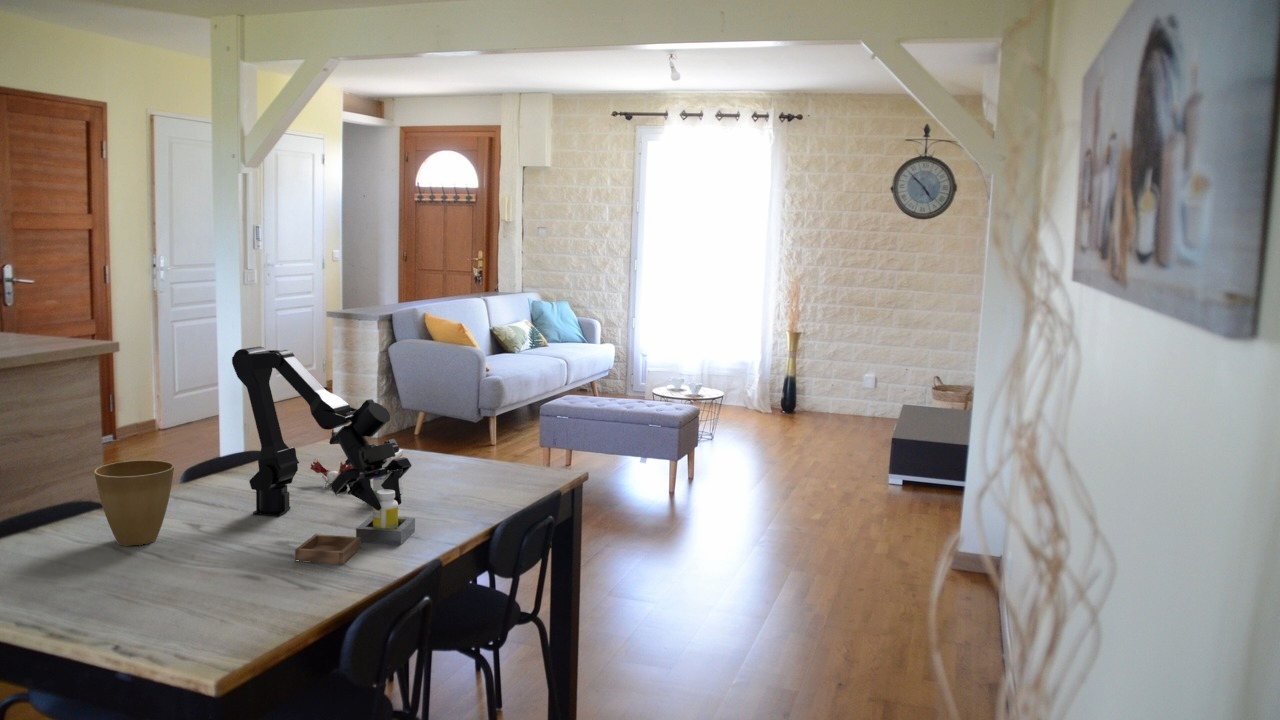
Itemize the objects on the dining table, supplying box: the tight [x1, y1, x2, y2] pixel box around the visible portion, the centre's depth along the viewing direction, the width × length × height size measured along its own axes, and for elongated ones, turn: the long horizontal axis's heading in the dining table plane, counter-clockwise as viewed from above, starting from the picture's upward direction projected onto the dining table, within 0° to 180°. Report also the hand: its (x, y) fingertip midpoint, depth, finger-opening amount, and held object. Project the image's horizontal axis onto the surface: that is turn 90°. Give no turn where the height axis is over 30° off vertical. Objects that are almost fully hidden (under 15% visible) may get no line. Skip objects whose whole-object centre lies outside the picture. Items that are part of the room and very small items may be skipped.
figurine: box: [310, 457, 353, 487], centre depth 254 cm, size 15×12×7 cm
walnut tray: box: [294, 533, 362, 566], centre depth 202 cm, size 10×10×2 cm
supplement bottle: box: [372, 489, 399, 529], centre depth 215 cm, size 5×5×10 cm
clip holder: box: [355, 514, 416, 546], centre depth 215 cm, size 10×10×3 cm
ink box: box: [372, 448, 404, 495], centre depth 245 cm, size 8×5×12 cm, turn 174°
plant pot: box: [93, 459, 175, 546], centre depth 205 cm, size 15×15×16 cm
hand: (390, 506), depth 214 cm, fingers closed on supplement bottle, 5 cm apart
